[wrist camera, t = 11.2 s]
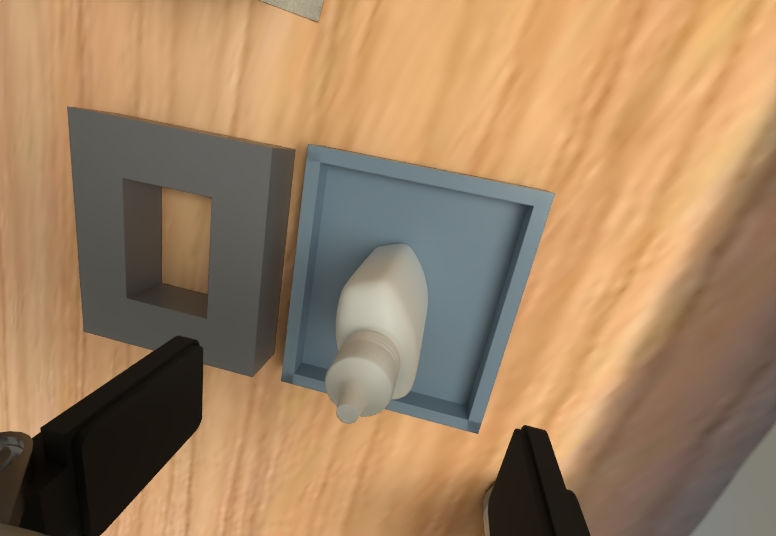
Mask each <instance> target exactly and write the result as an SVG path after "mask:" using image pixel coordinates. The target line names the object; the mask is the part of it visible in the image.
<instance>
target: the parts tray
mask: <svg viewBox="0 0 776 536" xmlns="http://www.w3.org/2000/svg"><path fill="white" fill-rule="evenodd" d="M554 196H555V193H552V192H549V191H546V190H541V189H536V188H531V187H526V186H521V185H516V184H511V183H506V182H501V181H496V180H491V179H486V178H481V177H476V176H471V175H466V174H461V173H456V172H451V171H446V170H441V169H436V168H431V167H426V166H421V165H416V164H411V163H406V162H401V161H396V160H391V159H386V158H381V157H376V156H371V155H366V154H361V153H356V152H351V151H346V150H341V149H336V148H331V147H326V146H321V145H311V144H308V149H307V158H306V167H305V175H304V184H303V193H302V202H301V211H300V219H299V228H298V237H297V246H296V254H295V263H294V272H293V281H292V290H291V298H290V307H289V316H288V325H287V334H286V342H285V351H284V360H283V369H282V377H281V381H283V382H287V383H290V384H294V385H298V386H302V387H305V388H309V389H313V390H316V391H320V392H324V393H327V391H326V387H325V386H326V385H325V379H326V378H325V376H326V373H327V370H328V369H329V367H330V365H331V363H332V362H333V360H334V358H335V357H336V355H337V353H338V347H337V340H336V315H337V308H338V303H339V298H340V295H341V292H342V290H343V288H344V286H345V285H346V283H347V282H348V281H349V279H350V278H351V276H352V275H353V274H354V273H355V272H356V270H357V269H358V268H359V267H360V266H361V264H362V263H363V262H364V261H365V260H366V259H367V257H368V256H369V255H370V254H371V253H372V252H373V250H374V249H375V248H377V247H379V246H384V245H391V244H399V243H403V244H407V245H408V246H410V247H411V249H412V250H413V251H414V253H415V254H416V256H417V258H418V260H419V262H420V264H421V266H422V269H423V272H424V275H425V279H426V283H427V290H428V307H427V315H426V321H425V327H424V333H423V339H422V345H421V351H420V357H419V362H418V367H417V372H416V376H415V380H414V383H413V386H412V388H411V390H410V391H409V393H408V394H407V395H406V396H404V397H402V398H399V399H393V400H391V401H390V403H389V405H388V406H387V407H386V408H385V409H387V410H391V411H395V412H398V413H402V414H406V415H409V416H413V417H417V418H421V419H424V420H428V421H432V422H435V423H439V424H443V425H447V426H450V427H454V428H458V429H461V430H465V431H469V432H473V433H476V434H478V432H479V429H480V426H481V423H482V420H483V417H484V414H485V411H486V408H487V404H488V401H489V398H490V395H491V392H492V389H493V386H494V383H495V379H496V376H497V373H498V370H499V367H500V364H501V361H502V358H503V355H504V351H505V348H506V345H507V342H508V339H509V336H510V333H511V330H512V326H513V323H514V320H515V317H516V314H517V311H518V308H519V305H520V302H521V298H522V295H523V292H524V289H525V286H526V283H527V280H528V277H529V273H530V270H531V267H532V264H533V261H534V258H535V255H536V252H537V249H538V245H539V242H540V239H541V236H542V233H543V230H544V227H545V224H546V220H547V217H548V214H549V211H550V208H551V205H552V202H553V199H554Z"/></svg>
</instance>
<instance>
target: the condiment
mask: <svg viewBox="0 0 776 536" xmlns="http://www.w3.org/2000/svg"><path fill="white" fill-rule="evenodd" d="M260 1H263V2H265V3H268V4H271V5H273V6H276V7H279V8H281V9H284V10H287V11H289V12H292V13H295V14H298V15H300V16H303V17H306V18H309V19H311V20H315V21H318V20H319V16H320V13H321V9H322V5H323V1H324V0H260Z"/></svg>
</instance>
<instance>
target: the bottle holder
mask: <svg viewBox="0 0 776 536" xmlns="http://www.w3.org/2000/svg"><path fill="white" fill-rule="evenodd" d="M67 110H68V123H69V137H70V150H71V164H72V178H73V191H74V205H75V218H76V232H77V246H78V259H79V273H80V287H81V300H82V314H83V327H84V332H87V333H91V334H95V335H98V336H102V337H106V338H109V339H113V340H117V341H121V342H124V343H128V344H132V345H135V346H139V347H143V348H146V349H150V350H156V349H157V348H159V347H160V346H162V345H163V344H165V343H166V342H168V341H169V340H171V339H172V338H174V337H175V336H184V337H188V338H192V339H195V340H198V342H199V345H200V346H202V347H203V364H206V365H209V366H213V367H217V368H220V369H224V370H228V371H232V372H235V373H239V374H243V375H246V376H250V377H253V376H254V375H255V374H256V373H257V372H258V371H259V370H260V369H261V367H262V366H263V365H264V364H265V363H266V362H267V361H268V360H269V359H270V358H271V357H272V355H273V354H274V350H275V340H276V331H277V321H278V311H279V302H280V292H281V283H282V273H283V263H284V254H285V244H286V235H287V225H288V215H289V206H290V196H291V187H292V177H293V168H294V158H295V149H291V148H286V147H281V146H276V145H271V144H266V143H261V142H256V141H251V140H246V139H241V138H236V137H231V136H226V135H221V134H216V133H211V132H207V131H202V130H197V129H192V128H187V127H182V126H177V125H172V124H167V123H162V122H157V121H152V120H147V119H142V118H137V117H132V116H127V115H122V114H117V113H112V112H104V111H97V110H90V109H82V108H75V107H68V106H67ZM161 186H162V187H166V188H171V189H175V190H180V191H184V192H189V193H193V194H198V195H202V196H207V197H211V198H212V206H211V231H210V257H209V282H208V295H207V294H203V293H199V292H195V291H191V290H187V289H183V288H179V287H175V286H171V285H167V284H163V283H162V235H161Z"/></svg>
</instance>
